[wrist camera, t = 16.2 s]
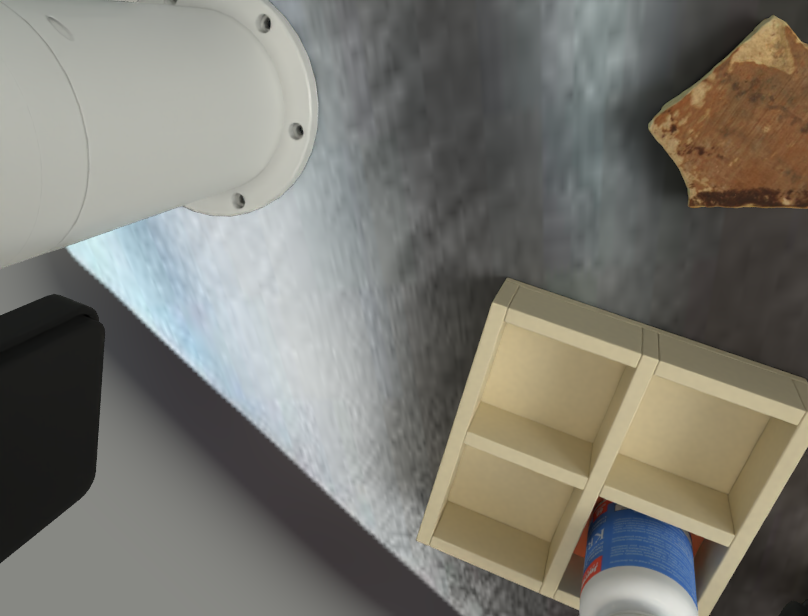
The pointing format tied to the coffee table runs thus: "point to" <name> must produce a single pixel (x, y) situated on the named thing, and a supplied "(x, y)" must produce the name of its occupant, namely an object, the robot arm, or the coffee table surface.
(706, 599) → the open box
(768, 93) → the shard
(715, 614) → the coffee table surface
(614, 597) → the pill bottle
